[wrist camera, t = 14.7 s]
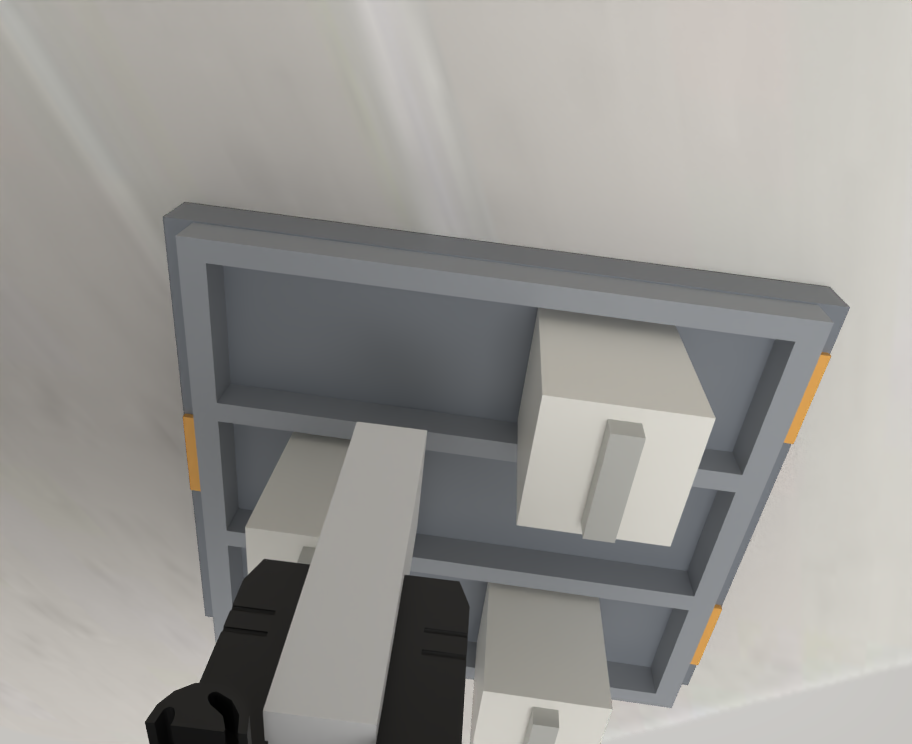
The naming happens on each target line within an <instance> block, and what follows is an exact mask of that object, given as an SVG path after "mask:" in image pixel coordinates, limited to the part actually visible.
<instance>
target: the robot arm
mask: <svg viewBox="0 0 912 744" xmlns="http://www.w3.org/2000/svg"><path fill="white" fill-rule="evenodd" d="M426 437H427V430H420V429H412V428H404V427H396V426H388V425H380V424H372V423H364V422H357V423H356V426H355V429H354V432H353V435H352V438H351V441H350V444H349V447H348V450H347V454H346V457H345V460H344V463H343V466H342V469H341V472H340V475H339V478H338V481H337V484H336V487H335V490H334V494H333V497H332V500H331V503H330V506H329V509H328V512H327V515H326V518H325V521H324V524H323V527H322V530H321V534H320V537H319V540H318V543H317V546H316V549H315V552H314V555H313V558H312V561H311V564H302V563H294V562H286V561H278V560H270V559H263V560H262V561H261V562H260V563H259V564H258V565H257V566H256V567H255V568H254V569H253V570H252V571H251V572H250V573H249V574H248V575H247V576H246V577H245V578H244V579H243V581H242V584H241V586H240V588H239V591H238V593H237V595H236V598H235V600H234V602H233V605H232V610H230V612H229V614H228V617H227V619H226V621H225V624H224V626H223V631H222V632H221V633H220V635H219V638H218V640H217V642H216V645H215V647H214V650H213V652H212V654H211V657H210V659H209V661H208V664H207V666H206V668H205V671H204V673H203V675H202V678H201V680H200V683H194V684H191V685H189V686H186V687H184V688H181V689H178V690H176V691H174V692H173V693H171V694H170V695H169V696H167V697H166V698H165V699H164V700H162V701H161V702H160V703H158V704H157V705H156V707H155V708H154V710H153V711H152V713H151V714H150V715H149V717H148V718H147V720H146V721H145V725H146V729H147V734H148V739H149V743H150V744H462V726H463V709H464V693H465V676H466V657H467V643H468V626H469V610H470V606H469V603H468V601H467V598H466V596H465V593H464V591H463V589H462V586H461V584H460V581H452V580H444V579H436V578H428V577H420V576H412V575H410V568H411V562H412V556H413V550H414V543H415V537H416V531H417V524H418V515H419V505H420V495H421V486H422V476H423V466H424V457H425V447H426Z"/></svg>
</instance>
